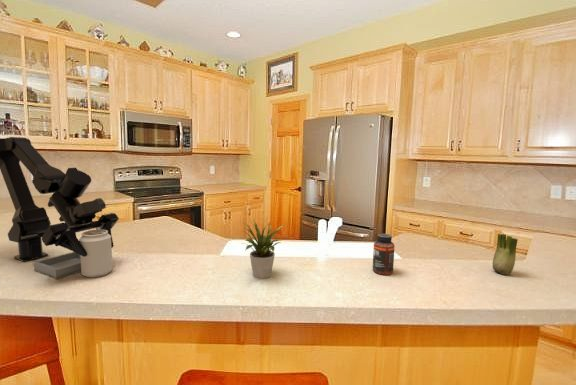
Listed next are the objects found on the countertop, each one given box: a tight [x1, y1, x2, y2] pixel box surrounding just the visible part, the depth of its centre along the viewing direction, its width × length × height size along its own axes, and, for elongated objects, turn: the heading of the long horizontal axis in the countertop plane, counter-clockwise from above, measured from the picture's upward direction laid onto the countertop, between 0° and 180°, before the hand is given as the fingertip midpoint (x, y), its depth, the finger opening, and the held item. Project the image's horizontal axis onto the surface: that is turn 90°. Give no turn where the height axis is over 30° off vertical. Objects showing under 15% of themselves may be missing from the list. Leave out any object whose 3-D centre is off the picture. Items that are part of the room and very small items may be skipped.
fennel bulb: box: [492, 233, 518, 276], centre depth 92 cm, size 6×5×12 cm
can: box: [78, 229, 114, 278], centre depth 85 cm, size 8×8×12 cm
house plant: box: [238, 219, 285, 279], centre depth 86 cm, size 14×14×16 cm
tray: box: [33, 251, 81, 280], centre depth 89 cm, size 12×12×2 cm
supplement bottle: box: [372, 233, 395, 276], centre depth 91 cm, size 6×6×11 cm
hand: (99, 251), depth 84 cm, fingers closed on can, 7 cm apart
